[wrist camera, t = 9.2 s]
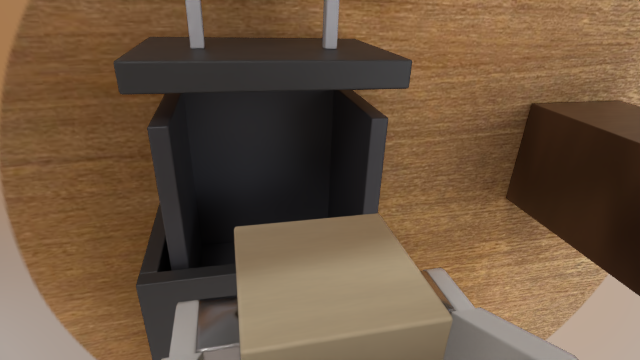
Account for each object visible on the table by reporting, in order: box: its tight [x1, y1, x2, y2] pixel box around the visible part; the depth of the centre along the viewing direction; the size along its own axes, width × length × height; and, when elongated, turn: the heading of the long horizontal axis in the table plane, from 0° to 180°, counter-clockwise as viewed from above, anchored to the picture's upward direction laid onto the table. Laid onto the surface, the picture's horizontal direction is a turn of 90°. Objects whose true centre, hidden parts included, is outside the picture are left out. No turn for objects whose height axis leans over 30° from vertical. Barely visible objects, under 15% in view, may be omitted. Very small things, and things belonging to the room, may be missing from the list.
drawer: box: [114, 0, 412, 270], centre depth 20 cm, size 18×11×8 cm, turn 178°
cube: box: [234, 213, 453, 360], centre depth 10 cm, size 4×4×4 cm
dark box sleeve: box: [136, 204, 237, 360], centre depth 25 cm, size 15×13×10 cm
